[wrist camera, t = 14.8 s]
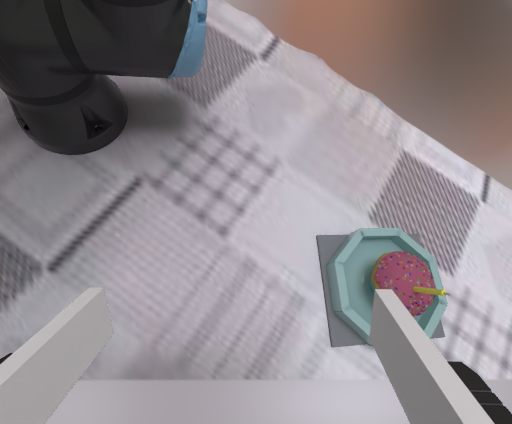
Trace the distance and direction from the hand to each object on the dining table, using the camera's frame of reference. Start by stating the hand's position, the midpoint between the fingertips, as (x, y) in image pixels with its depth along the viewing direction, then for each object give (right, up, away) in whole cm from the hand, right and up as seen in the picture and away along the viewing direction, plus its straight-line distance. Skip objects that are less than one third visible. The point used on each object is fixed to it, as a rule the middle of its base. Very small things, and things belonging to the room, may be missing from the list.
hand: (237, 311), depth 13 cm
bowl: (+20, -6, +28) cm, 35 cm away
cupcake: (+20, -6, +27) cm, 35 cm away
